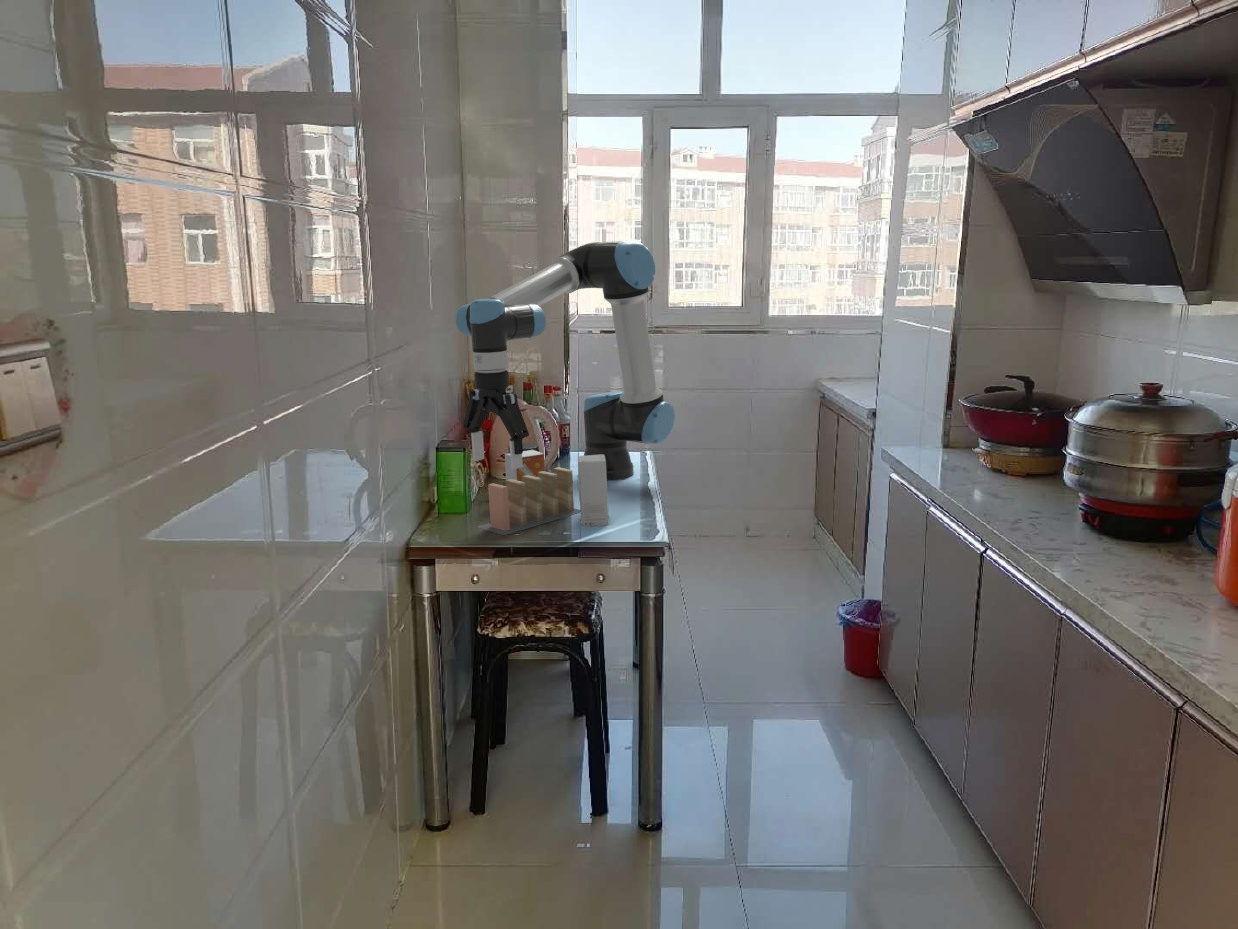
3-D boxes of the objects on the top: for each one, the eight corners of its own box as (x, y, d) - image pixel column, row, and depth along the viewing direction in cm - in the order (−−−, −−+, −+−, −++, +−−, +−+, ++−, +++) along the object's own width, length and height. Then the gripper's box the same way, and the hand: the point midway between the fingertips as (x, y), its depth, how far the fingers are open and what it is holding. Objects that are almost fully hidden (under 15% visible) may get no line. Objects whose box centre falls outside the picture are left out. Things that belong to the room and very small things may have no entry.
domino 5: (559, 506, 229) (558, 467, 227) (573, 510, 226) (572, 470, 223) (555, 508, 228) (553, 468, 226) (569, 511, 224) (567, 471, 222)
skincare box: (609, 527, 213) (607, 461, 209) (580, 528, 213) (577, 462, 209) (607, 517, 221) (605, 453, 218) (579, 518, 221) (577, 454, 217)
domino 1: (496, 525, 215) (493, 483, 213) (509, 529, 212) (507, 486, 209) (490, 526, 214) (488, 484, 212) (504, 530, 210) (502, 488, 208)
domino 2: (512, 520, 218) (510, 479, 216) (526, 524, 215) (524, 482, 213) (507, 521, 217) (505, 480, 215) (521, 525, 214) (519, 483, 212)
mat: (556, 506, 232) (556, 504, 231) (584, 513, 225) (584, 510, 225) (476, 529, 214) (476, 526, 214) (504, 537, 207) (504, 535, 207)
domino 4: (544, 511, 225) (542, 471, 223) (558, 514, 222) (556, 474, 220) (539, 512, 224) (537, 472, 222) (553, 516, 221) (551, 475, 219)
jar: (547, 490, 248) (545, 446, 245) (521, 495, 243) (518, 450, 240) (529, 484, 255) (527, 441, 252) (504, 489, 250) (501, 445, 247)
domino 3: (529, 515, 222) (527, 475, 220) (543, 519, 219) (541, 478, 216) (523, 517, 221) (521, 476, 219) (537, 520, 217) (535, 479, 215)
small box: (518, 509, 230) (515, 457, 227) (506, 503, 235) (503, 453, 232) (546, 503, 235) (544, 453, 232) (534, 498, 240) (532, 449, 237)
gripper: (443, 368, 210) (450, 459, 215) (514, 376, 193) (520, 475, 198) (470, 364, 216) (476, 453, 221) (541, 372, 199) (546, 468, 204)
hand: (497, 464), depth 210 cm, fingers open, 13 cm apart
